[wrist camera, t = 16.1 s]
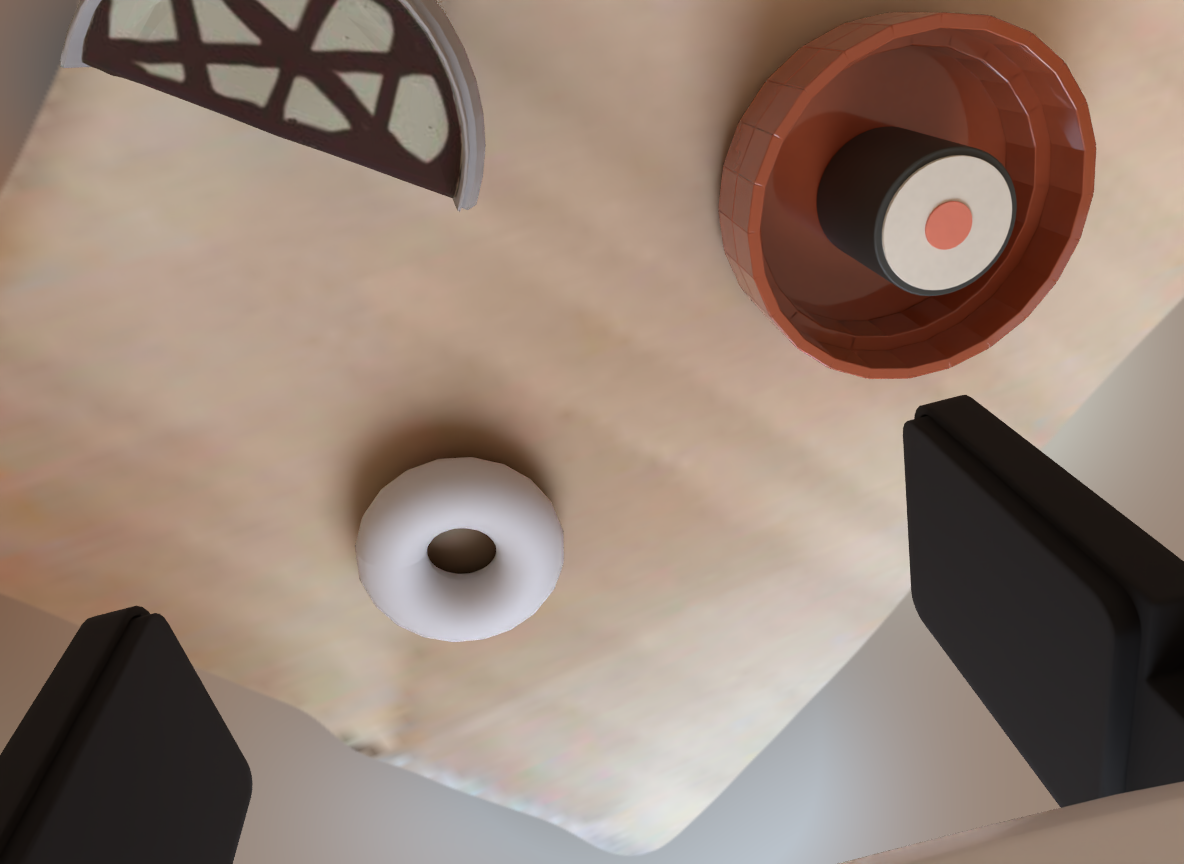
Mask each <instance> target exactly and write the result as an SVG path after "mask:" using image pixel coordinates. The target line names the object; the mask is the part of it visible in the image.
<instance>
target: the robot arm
mask: <svg viewBox="0 0 1184 864" xmlns="http://www.w3.org/2000/svg"><path fill="white" fill-rule="evenodd" d="M903 444H904V462H905V481H906V500H907V519H908V538H909V556H910V575H911V591H912V598H913V602H914V605H915V608H916V610H917V612H918V614H919V616H920V618H921V620H922V621H923V623H924V624H925V625H926V627H927V628H928V629H929V631H930V632H931V633H932V635H933V636H934V637H935V639H936V640H937V641H938V643H939V644H940V646H941V647H942V648H943V650H944V651H945V652H946V654H947V655H948V656H949V658H950V659H951V660H952V662H953V663H954V664H955V666H956V667H957V669H958V670H959V671H960V673H961V674H962V675H963V677H964V678H965V679H966V680H967V682H968V683H969V685H970V686H971V687H972V689H973V690H974V691H975V693H976V694H977V695H978V697H979V698H980V699H981V701H982V702H983V704H984V705H985V706H986V708H987V709H988V710H989V711H990V713H991V714H992V716H993V717H994V718H995V720H996V721H997V722H998V724H999V725H1000V726H1001V728H1002V729H1003V730H1004V732H1005V733H1006V734H1007V736H1008V737H1009V739H1010V740H1011V741H1012V742H1013V744H1014V745H1015V747H1016V748H1017V749H1018V751H1019V752H1020V753H1021V755H1022V756H1023V757H1024V759H1025V760H1026V761H1027V763H1028V764H1029V765H1030V767H1031V768H1032V769H1033V771H1034V772H1035V774H1036V775H1037V776H1038V778H1039V779H1040V780H1041V782H1042V783H1043V784H1044V785H1045V787H1046V788H1047V790H1048V791H1049V792H1050V794H1051V795H1052V796H1053V798H1054V799H1055V800H1056V802H1057V803H1058V804H1059V806H1060V807H1061V808H1058V809H1054V810H1050V811H1046V812H1041V813H1037V814H1033V815H1029V816H1025V817H1021V818H1017V819H1012V820H1009V821H1004V822H1000V823H996V824H992V825H987V826H984V827H979V828H975V829H971V830H967V831H962V832H958V833H955V834H951V835H947V836H943V837H940V838H936V839H931V840H928V841H924V842H920V843H916V844H912V845H908V846H905V847H901V848H897V849H893V850H889V851H885V852H881V853H878V854H874V855H870V856H866V857H862V858H858V859H854V860H851V861H847V862H843V863H839V864H1184V561H1182V560H1181V559H1179V558H1178V557H1177V556H1176V555H1174V554H1173V553H1172V552H1171V551H1169V550H1168V549H1167V548H1166V547H1164V546H1163V545H1162V544H1160V543H1159V542H1158V541H1157V540H1155V539H1154V538H1153V537H1151V536H1150V535H1148V534H1147V533H1146V532H1145V531H1143V530H1142V529H1141V528H1140V527H1138V526H1137V525H1136V524H1134V523H1133V522H1132V521H1131V520H1129V519H1128V518H1127V517H1125V516H1124V515H1123V514H1122V513H1120V512H1119V511H1117V510H1116V509H1115V508H1114V507H1112V506H1111V505H1110V504H1109V503H1107V502H1106V501H1105V500H1103V499H1102V498H1101V497H1099V496H1098V495H1097V494H1096V493H1094V492H1093V491H1092V490H1090V489H1089V488H1088V487H1087V486H1085V485H1084V484H1082V483H1081V482H1080V481H1079V480H1077V479H1076V478H1075V477H1073V476H1072V475H1071V474H1070V473H1068V472H1067V471H1066V470H1065V469H1063V468H1062V467H1060V466H1059V465H1058V464H1057V463H1055V462H1054V461H1053V460H1052V459H1050V458H1049V457H1048V456H1046V455H1045V454H1044V453H1042V452H1041V451H1040V450H1039V449H1037V448H1036V447H1035V446H1033V445H1032V444H1031V443H1030V442H1028V441H1027V440H1026V439H1024V438H1023V437H1022V436H1020V435H1019V434H1018V433H1017V432H1015V431H1014V430H1013V429H1011V428H1010V427H1009V426H1008V425H1006V424H1005V423H1004V422H1002V421H1001V420H1000V419H998V418H997V417H996V416H995V415H993V414H992V413H991V412H989V411H988V410H987V409H985V408H984V407H983V406H982V405H980V404H979V403H978V402H976V401H975V400H974V399H973V398H971V397H969V396H967V395H961V396H957V397H953V398H949V399H945V400H941V401H937V402H934V403H930V404H926V405H922V406H919V407H918V408H917V410H916V413H915V419H914V420H910V421H907V422H906V423H905V424H904V427H903ZM251 793H252V775H251V771H250V768H249V765H248V763H247V761H246V759H245V758H244V756H243V754H242V752H241V751H240V749H239V747H238V745H237V743H236V742H235V740H234V738H233V736H232V735H231V733H230V731H229V729H228V728H227V726H226V724H225V722H224V721H223V719H222V717H221V715H220V714H219V712H218V710H217V708H216V707H215V705H214V703H213V701H212V700H211V698H210V696H209V694H208V692H207V691H206V689H205V687H204V685H203V684H202V682H201V680H200V678H199V677H198V675H197V673H196V671H195V670H194V668H193V666H192V664H191V663H190V661H189V659H188V657H187V655H186V654H185V652H184V650H183V648H182V647H181V645H180V643H179V641H178V640H177V638H176V636H175V634H174V633H173V631H172V629H171V627H170V626H169V624H168V622H167V621H166V619H165V618H164V617H163V616H162V615H160V614H157V613H154V614H150V613H149V612H148V611H147V610H146V609H144V608H143V607H140V606H134V607H130V608H126V609H122V610H118V611H114V612H110V613H106V614H102V615H98V616H94V617H91V618H89V619H87V620H86V621H85V622H84V623H83V624H82V625H81V627H80V629H79V630H78V632H77V633H76V635H75V637H74V638H73V640H72V642H71V643H70V645H69V646H68V648H67V649H66V651H65V653H64V654H63V656H62V658H61V659H60V660H59V662H58V664H57V665H56V667H55V668H54V670H53V672H52V673H51V675H50V677H49V678H48V680H47V681H46V683H45V685H44V686H43V688H42V689H41V691H40V693H39V694H38V696H37V697H36V699H35V700H34V702H33V704H32V705H31V707H30V708H29V710H28V712H27V713H26V715H25V716H24V718H23V720H22V721H21V723H20V724H19V726H18V728H17V729H16V731H15V732H14V734H13V736H12V737H11V739H10V740H9V742H8V744H7V745H6V747H5V748H4V750H3V752H2V753H1V755H0V864H233V860H234V857H235V853H236V849H237V845H238V842H239V838H240V835H241V831H242V827H243V824H244V820H245V817H246V813H247V809H248V806H249V802H250V798H251Z"/></svg>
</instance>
